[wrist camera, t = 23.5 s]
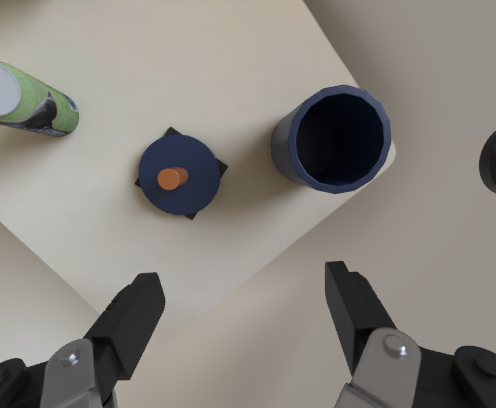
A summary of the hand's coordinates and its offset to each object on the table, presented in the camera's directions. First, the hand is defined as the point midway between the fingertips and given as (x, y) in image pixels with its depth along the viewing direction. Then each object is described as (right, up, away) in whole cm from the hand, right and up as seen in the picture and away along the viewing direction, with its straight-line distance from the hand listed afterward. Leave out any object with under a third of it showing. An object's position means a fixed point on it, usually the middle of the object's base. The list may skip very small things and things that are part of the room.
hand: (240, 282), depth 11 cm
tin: (+9, +12, +25) cm, 30 cm away
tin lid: (-10, +8, +24) cm, 27 cm away
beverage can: (-26, +17, +23) cm, 38 cm away
